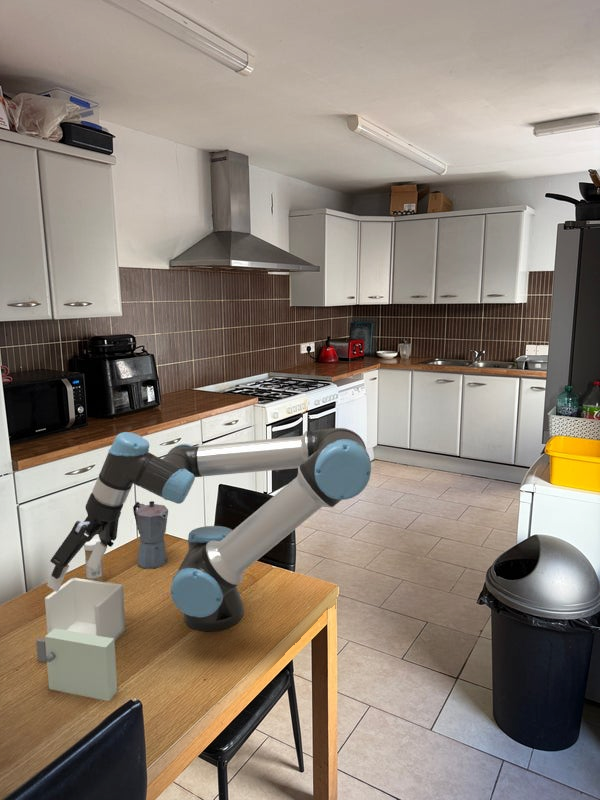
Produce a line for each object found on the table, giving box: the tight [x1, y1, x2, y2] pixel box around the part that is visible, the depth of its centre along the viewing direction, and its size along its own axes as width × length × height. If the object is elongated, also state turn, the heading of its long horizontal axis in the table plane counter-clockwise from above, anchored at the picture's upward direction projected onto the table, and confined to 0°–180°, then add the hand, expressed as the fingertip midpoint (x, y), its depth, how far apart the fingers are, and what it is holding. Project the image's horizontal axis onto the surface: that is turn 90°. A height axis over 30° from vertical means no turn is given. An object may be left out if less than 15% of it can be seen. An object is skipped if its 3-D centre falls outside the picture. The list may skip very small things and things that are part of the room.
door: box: [44, 628, 118, 702], centre depth 113 cm, size 14×4×12 cm, turn 76°
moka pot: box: [132, 500, 169, 569], centre depth 169 cm, size 10×15×20 cm, turn 58°
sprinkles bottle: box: [83, 537, 104, 582], centre depth 156 cm, size 5×5×14 cm
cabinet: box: [35, 577, 127, 663], centre depth 129 cm, size 14×15×12 cm
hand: (73, 576), depth 128 cm, fingers open, 13 cm apart
